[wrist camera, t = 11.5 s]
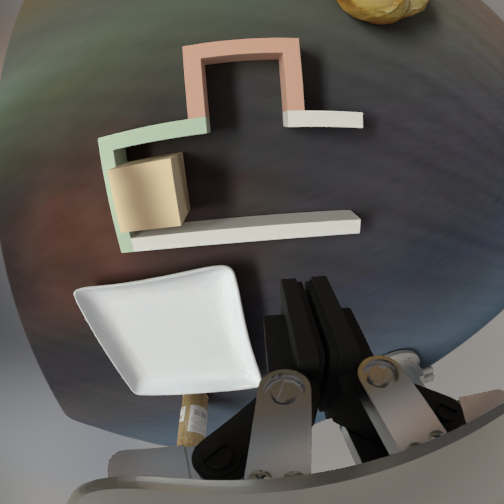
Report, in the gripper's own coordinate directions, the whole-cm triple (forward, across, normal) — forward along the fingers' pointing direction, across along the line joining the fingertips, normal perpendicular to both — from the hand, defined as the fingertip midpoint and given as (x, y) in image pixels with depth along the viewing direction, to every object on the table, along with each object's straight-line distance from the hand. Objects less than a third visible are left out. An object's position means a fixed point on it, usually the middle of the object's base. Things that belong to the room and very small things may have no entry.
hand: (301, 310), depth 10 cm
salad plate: (+20, +13, +18) cm, 30 cm away
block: (+19, +11, -2) cm, 22 cm away
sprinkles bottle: (+20, +13, +33) cm, 41 cm away
